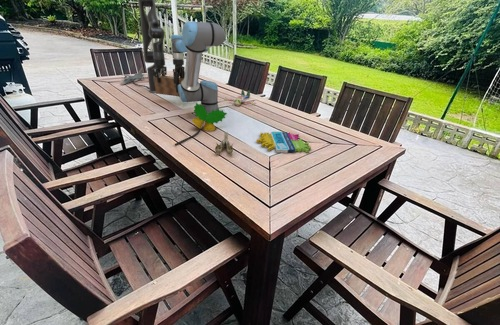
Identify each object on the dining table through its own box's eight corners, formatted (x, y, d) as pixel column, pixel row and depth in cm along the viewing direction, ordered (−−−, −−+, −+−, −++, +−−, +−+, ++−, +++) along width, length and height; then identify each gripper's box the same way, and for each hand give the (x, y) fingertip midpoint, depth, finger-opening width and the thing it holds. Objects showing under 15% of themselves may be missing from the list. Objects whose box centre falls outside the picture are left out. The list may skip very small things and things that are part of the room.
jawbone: (234, 135, 144) (233, 125, 135) (233, 160, 138) (232, 151, 129) (217, 135, 144) (216, 125, 135) (216, 160, 138) (214, 150, 129)
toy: (261, 91, 228) (254, 99, 202) (261, 99, 231) (253, 108, 205) (231, 87, 233) (220, 95, 207) (230, 95, 236) (219, 104, 210)
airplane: (115, 77, 268) (113, 67, 262) (148, 75, 281) (146, 66, 276) (118, 87, 239) (116, 75, 234) (154, 84, 252) (153, 74, 247)
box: (187, 95, 200) (186, 78, 194) (183, 97, 195) (182, 79, 189) (160, 91, 205) (158, 74, 199) (155, 93, 200) (153, 76, 193)
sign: (313, 150, 142) (258, 149, 139) (312, 153, 143) (258, 152, 140) (301, 132, 164) (254, 130, 161) (301, 134, 165) (254, 133, 162)
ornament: (218, 133, 171) (224, 110, 169) (221, 134, 163) (227, 111, 161) (186, 125, 162) (192, 101, 160) (189, 126, 155) (195, 101, 153)
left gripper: (159, 56, 196) (162, 79, 204) (148, 59, 184) (151, 83, 192) (169, 57, 195) (170, 80, 203) (158, 60, 182) (160, 84, 190)
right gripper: (179, 56, 195) (181, 88, 206) (166, 60, 178) (169, 93, 190) (189, 57, 193) (190, 89, 204) (176, 61, 177) (178, 95, 188)
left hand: (161, 81), depth 197 cm, fingers closed on box, 6 cm apart
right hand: (180, 91), depth 197 cm, fingers closed on box, 6 cm apart
